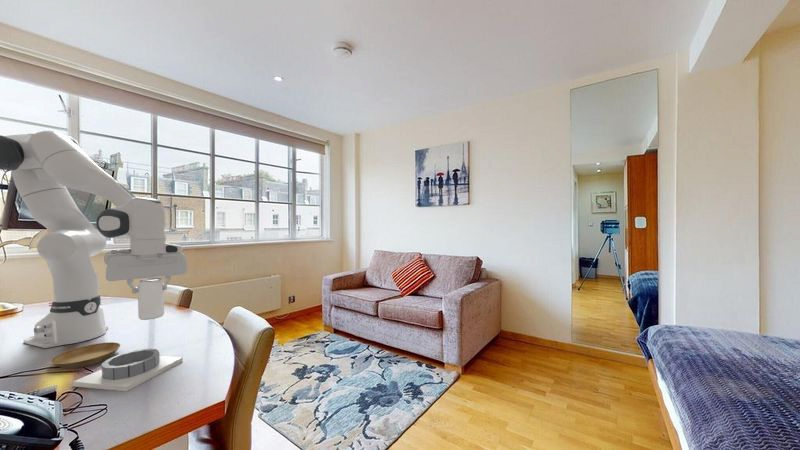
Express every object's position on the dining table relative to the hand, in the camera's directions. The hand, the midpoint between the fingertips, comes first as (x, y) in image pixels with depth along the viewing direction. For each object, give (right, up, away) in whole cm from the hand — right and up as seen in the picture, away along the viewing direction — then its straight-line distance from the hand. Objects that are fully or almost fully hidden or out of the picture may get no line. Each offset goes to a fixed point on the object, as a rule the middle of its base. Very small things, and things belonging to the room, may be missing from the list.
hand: (150, 291), depth 98 cm
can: (0, -9, +1) cm, 9 cm away
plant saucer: (-15, -20, -5) cm, 25 cm away
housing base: (+6, -19, -14) cm, 25 cm away
